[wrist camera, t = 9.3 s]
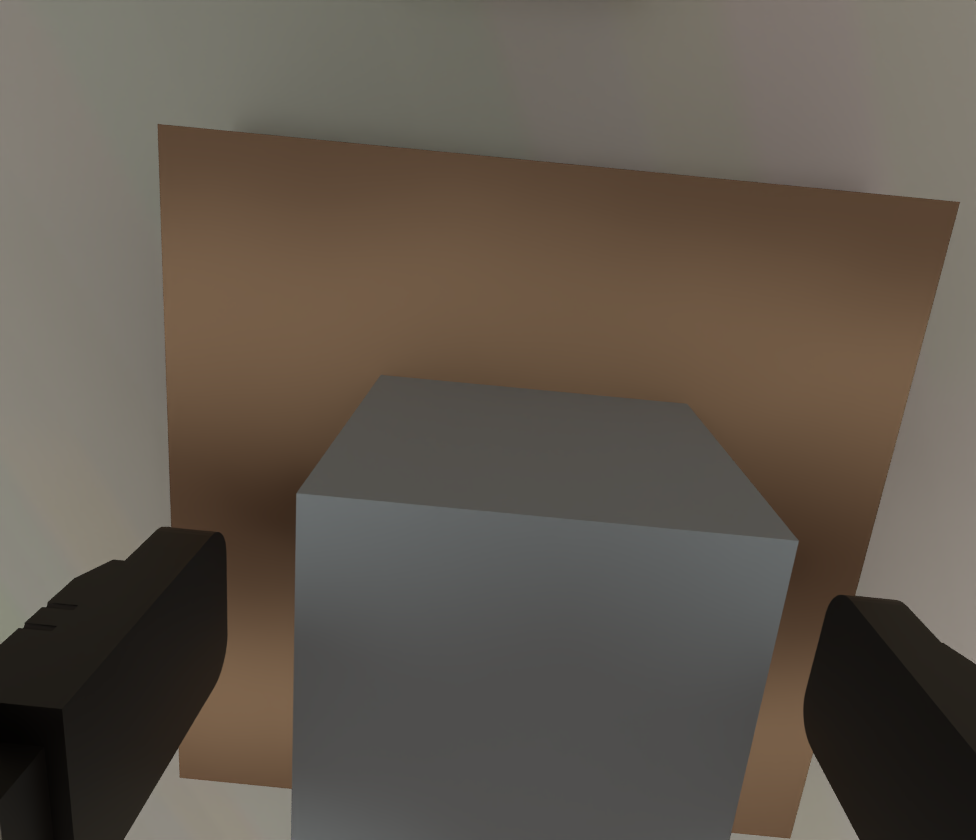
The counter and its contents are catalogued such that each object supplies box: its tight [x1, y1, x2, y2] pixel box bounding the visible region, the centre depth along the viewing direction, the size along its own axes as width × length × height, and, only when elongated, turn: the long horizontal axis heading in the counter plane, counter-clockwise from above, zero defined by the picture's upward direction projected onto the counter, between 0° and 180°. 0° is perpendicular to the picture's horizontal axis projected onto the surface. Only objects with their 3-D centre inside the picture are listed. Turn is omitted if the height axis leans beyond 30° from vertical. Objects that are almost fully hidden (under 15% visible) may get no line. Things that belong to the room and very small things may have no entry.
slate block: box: [291, 375, 799, 840], centre depth 11 cm, size 5×5×5 cm
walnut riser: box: [158, 124, 960, 838], centre depth 14 cm, size 12×12×3 cm
